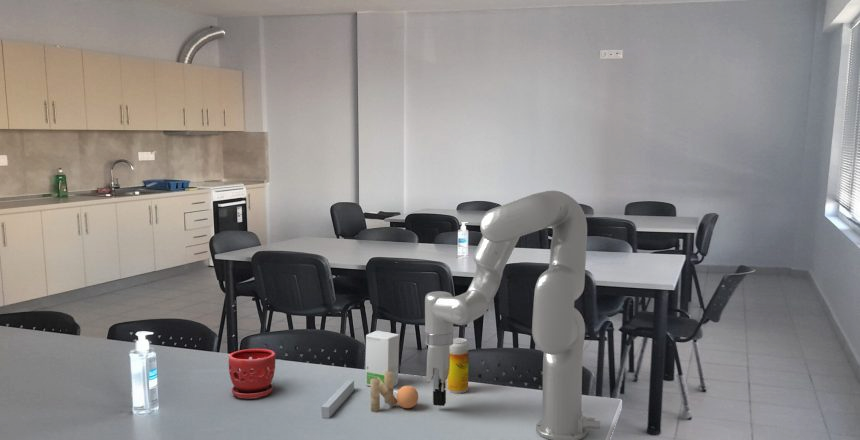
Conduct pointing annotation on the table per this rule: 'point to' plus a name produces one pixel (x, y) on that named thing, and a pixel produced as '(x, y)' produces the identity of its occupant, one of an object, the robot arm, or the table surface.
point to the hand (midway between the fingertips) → (439, 404)
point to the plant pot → (252, 372)
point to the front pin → (387, 394)
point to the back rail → (337, 399)
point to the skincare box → (381, 356)
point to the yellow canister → (458, 366)
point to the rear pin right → (388, 381)
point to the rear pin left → (375, 395)
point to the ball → (407, 397)
